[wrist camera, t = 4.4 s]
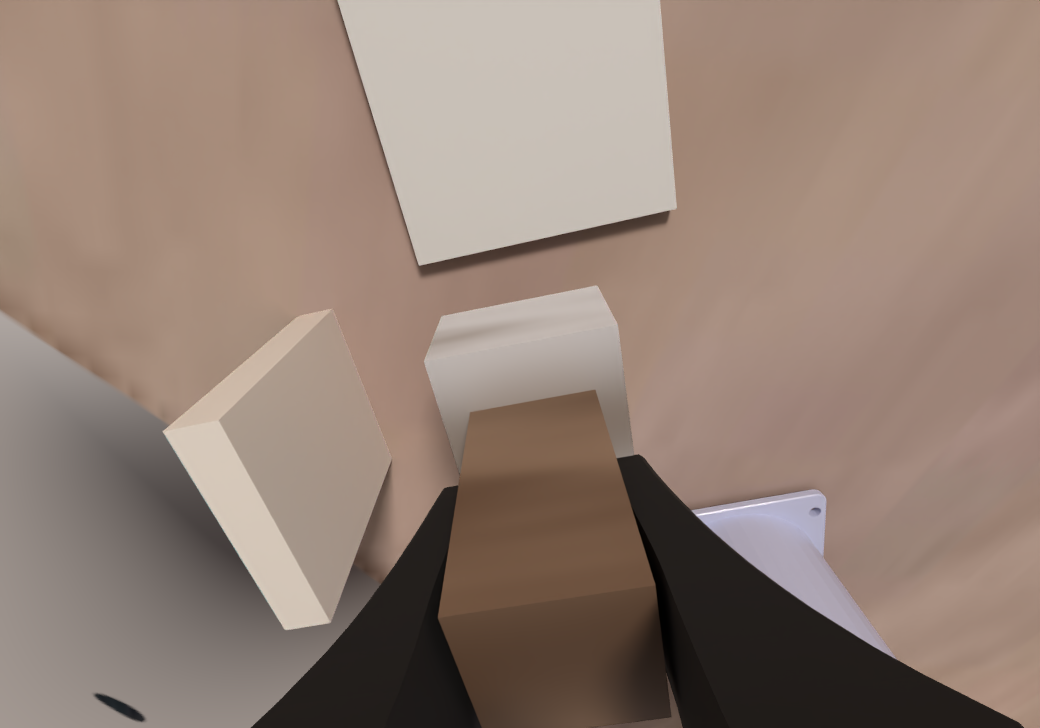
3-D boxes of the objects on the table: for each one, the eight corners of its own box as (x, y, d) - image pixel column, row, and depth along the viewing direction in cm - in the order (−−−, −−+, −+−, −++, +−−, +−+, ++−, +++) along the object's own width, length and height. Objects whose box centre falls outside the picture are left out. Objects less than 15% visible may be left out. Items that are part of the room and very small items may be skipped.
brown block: (621, 461, 16) (719, 764, 8) (489, 483, 17) (467, 793, 9) (597, 285, 14) (703, 489, 6) (441, 316, 14) (352, 545, 6)
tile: (392, 458, 22) (330, 622, 14) (357, 465, 22) (279, 630, 15) (332, 308, 19) (218, 420, 12) (292, 317, 19) (154, 432, 12)
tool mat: (671, 206, 17) (676, 208, 17) (421, 261, 18) (418, 265, 17) (643, -131, 14) (648, -142, 13) (329, -44, 14) (321, -51, 14)
